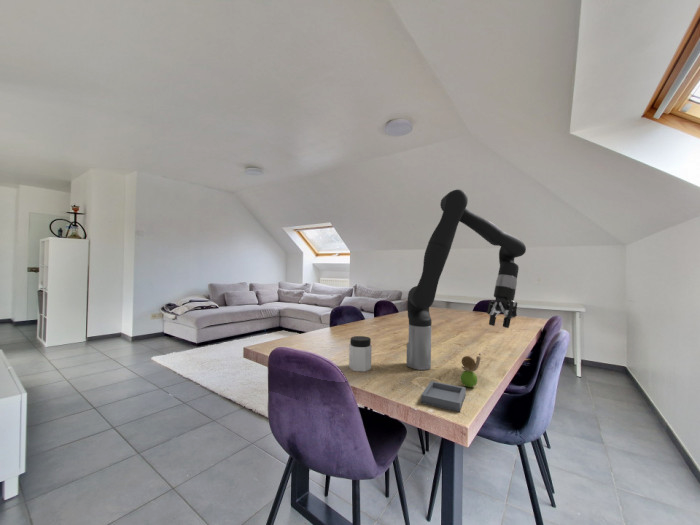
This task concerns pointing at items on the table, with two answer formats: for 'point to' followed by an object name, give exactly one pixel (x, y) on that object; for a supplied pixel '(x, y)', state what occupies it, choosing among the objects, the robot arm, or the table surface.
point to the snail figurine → (469, 370)
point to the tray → (444, 396)
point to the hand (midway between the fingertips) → (498, 326)
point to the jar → (360, 353)
